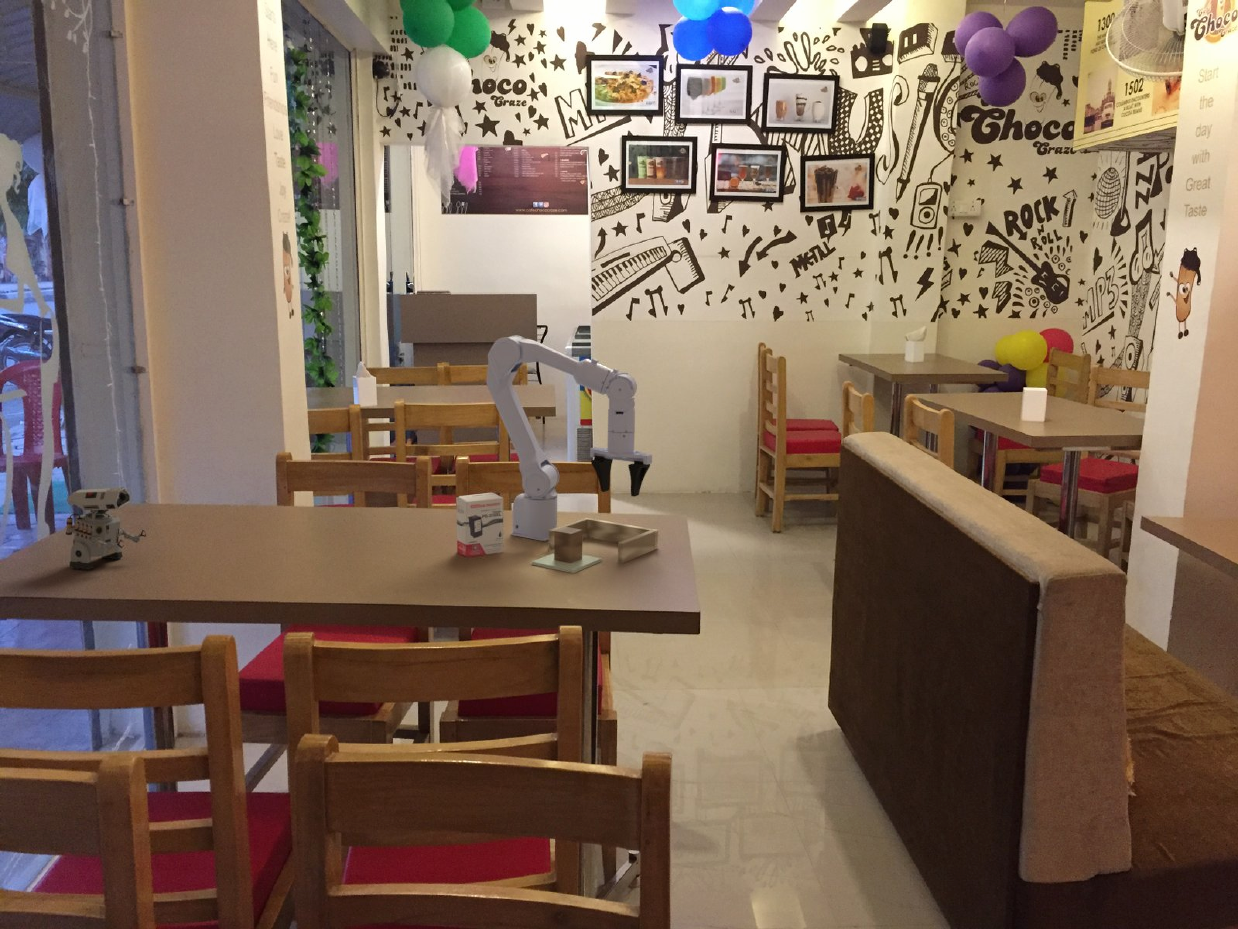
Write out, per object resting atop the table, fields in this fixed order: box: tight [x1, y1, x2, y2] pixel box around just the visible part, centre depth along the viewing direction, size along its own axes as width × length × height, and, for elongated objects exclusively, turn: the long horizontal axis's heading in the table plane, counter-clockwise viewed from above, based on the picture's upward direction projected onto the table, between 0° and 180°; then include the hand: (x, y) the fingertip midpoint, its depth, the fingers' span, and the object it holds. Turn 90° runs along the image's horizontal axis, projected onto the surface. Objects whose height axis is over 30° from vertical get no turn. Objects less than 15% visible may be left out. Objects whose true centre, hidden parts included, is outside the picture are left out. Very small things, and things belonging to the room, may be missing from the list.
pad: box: [531, 552, 603, 574], centre depth 200 cm, size 10×10×1 cm
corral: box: [548, 517, 659, 564], centre depth 210 cm, size 18×14×4 cm
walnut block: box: [553, 527, 583, 563], centre depth 199 cm, size 4×4×6 cm
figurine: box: [65, 487, 147, 571], centre depth 192 cm, size 9×12×15 cm
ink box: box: [455, 492, 504, 558], centre depth 205 cm, size 8×5×12 cm, turn 123°
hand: (619, 493), depth 216 cm, fingers open, 7 cm apart
